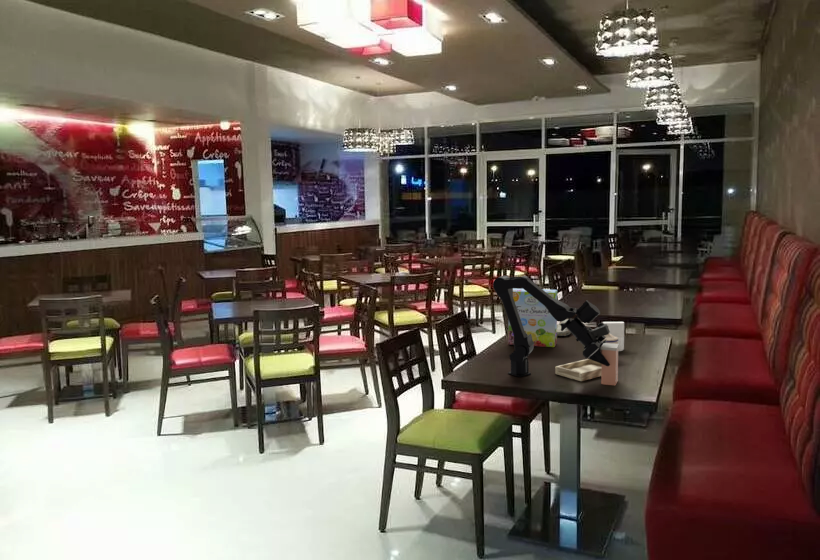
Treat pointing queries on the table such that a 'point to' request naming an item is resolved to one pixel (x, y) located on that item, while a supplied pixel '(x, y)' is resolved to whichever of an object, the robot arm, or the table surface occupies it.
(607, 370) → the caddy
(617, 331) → the base with upright slab
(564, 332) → the elongated rock
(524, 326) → the snack box
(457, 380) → the table surface
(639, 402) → the table surface
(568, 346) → the table surface
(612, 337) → the teacup with lid
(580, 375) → the tray
